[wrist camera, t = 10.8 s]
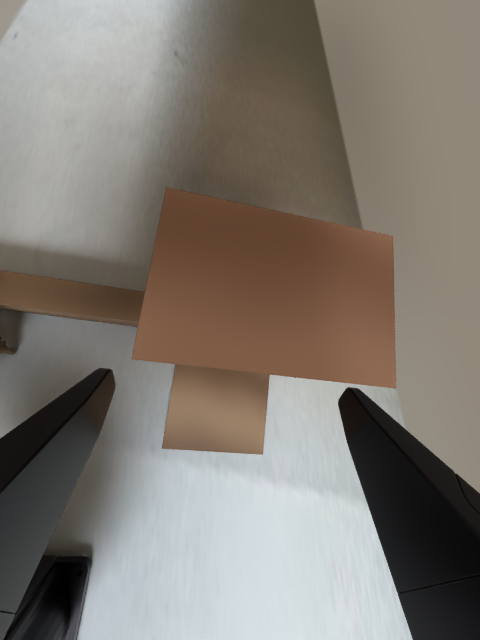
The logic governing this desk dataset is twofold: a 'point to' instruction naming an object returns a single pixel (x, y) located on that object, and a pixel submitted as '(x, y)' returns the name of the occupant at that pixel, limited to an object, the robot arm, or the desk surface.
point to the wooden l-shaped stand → (241, 312)
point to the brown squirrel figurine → (6, 348)
